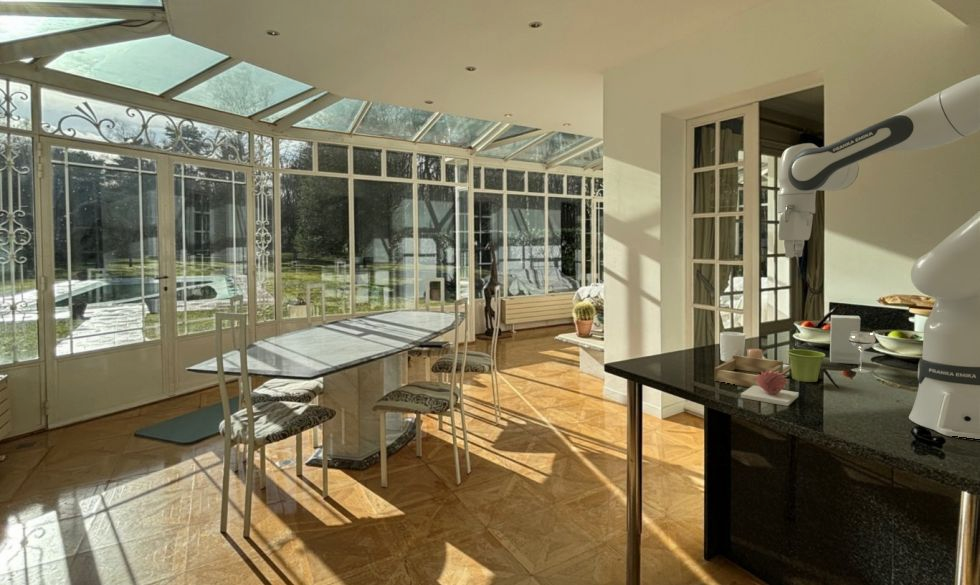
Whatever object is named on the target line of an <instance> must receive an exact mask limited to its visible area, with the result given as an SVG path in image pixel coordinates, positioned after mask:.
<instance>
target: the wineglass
mask: <svg viewBox="0 0 980 585" xmlns="http://www.w3.org/2000/svg"><path fill="white" fill-rule="evenodd" d="M850 334H851V335H850V336H849V341H850V343H851V344H852V345H853V346H854V347H855V348H857V349H858V350H859V351H860V355H859V367H856V368H852V369H850V370H851V372H855V373H862V374H863V373H865V374H866V373H870V372H871V371H870V370H867V369H865V368H862V363H863V357H864V356H863V355H864V351H865V350H868V349H870V348H872V347H873V346H874V345H875V344H876V337H875V336H876V333H875V332H871V331H861V330H860V331H851V332H850Z"/></svg>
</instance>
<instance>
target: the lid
mask: <svg viewBox="0 0 980 585" xmlns="http://www.w3.org/2000/svg"><path fill="white" fill-rule="evenodd" d="M788 371H791V362H783V373H784V374H783V375H785V374H786V373H788Z"/></svg>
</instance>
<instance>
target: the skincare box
mask: <svg viewBox="0 0 980 585" xmlns="http://www.w3.org/2000/svg"><path fill="white" fill-rule="evenodd" d="M861 320H862V318H861V317H860V316H859V315H839V314H831V315H830V332H829V333H830V338H829V340H830V341H829V342H830V343H829V344H830V345H829V360H830V361H829V362H830V363H836V364H848V365H852V364H853V365H860V351H859V350H858V349H857V348H855V347H854V346H853V345H852V344H851V343H850V341H849V336H850V335H851V334H850V332H851V331H861Z"/></svg>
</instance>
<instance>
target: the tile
mask: <svg viewBox="0 0 980 585" xmlns="http://www.w3.org/2000/svg"><path fill="white" fill-rule="evenodd" d="M799 394H800V393H799V392H798V391H791V390H785V389H783V390H781V391H780V392H779V393H776V394H775V393H774V394H771V393H768V392H767V391H764V390H763V388H761V387H759V386H755V385H753V386H752V387H748V388H747V389H746V390H744V391H743V392H741V393H740V398H741V399H747V400H750V401H751V400H753V401H758V402H763V403H769V404H773V405H774V404H775V405H781V406H787V407H788V406H790V405H791V404H792V403H793V402H794V401H796V399H798V398H799Z"/></svg>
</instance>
